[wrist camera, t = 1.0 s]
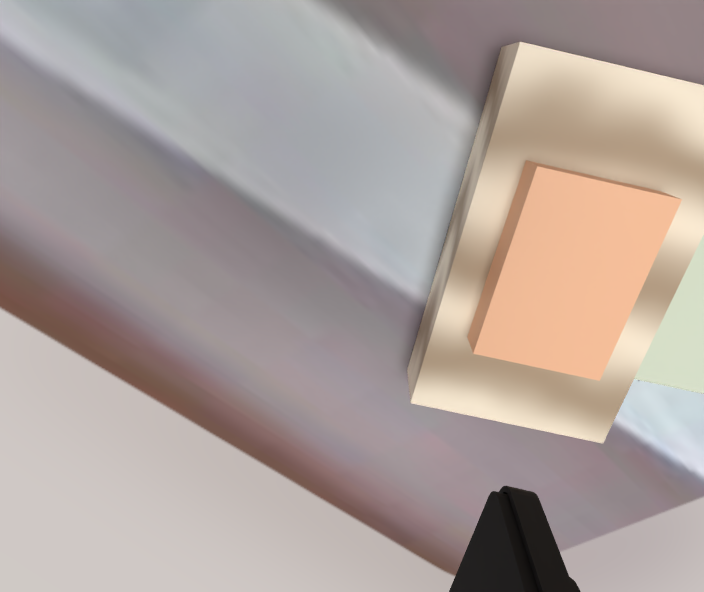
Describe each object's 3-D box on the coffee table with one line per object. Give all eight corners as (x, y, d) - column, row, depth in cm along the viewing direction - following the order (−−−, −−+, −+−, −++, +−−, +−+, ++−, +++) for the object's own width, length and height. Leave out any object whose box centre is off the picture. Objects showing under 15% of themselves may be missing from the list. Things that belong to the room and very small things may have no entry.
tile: (526, 160, 26) (537, 166, 25) (661, 191, 27) (682, 199, 25) (467, 336, 30) (473, 353, 28) (586, 362, 30) (599, 380, 29)
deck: (501, 46, 28) (520, 41, 24) (717, 98, 29) (768, 100, 25) (407, 369, 36) (410, 403, 32) (579, 406, 36) (602, 443, 32)
